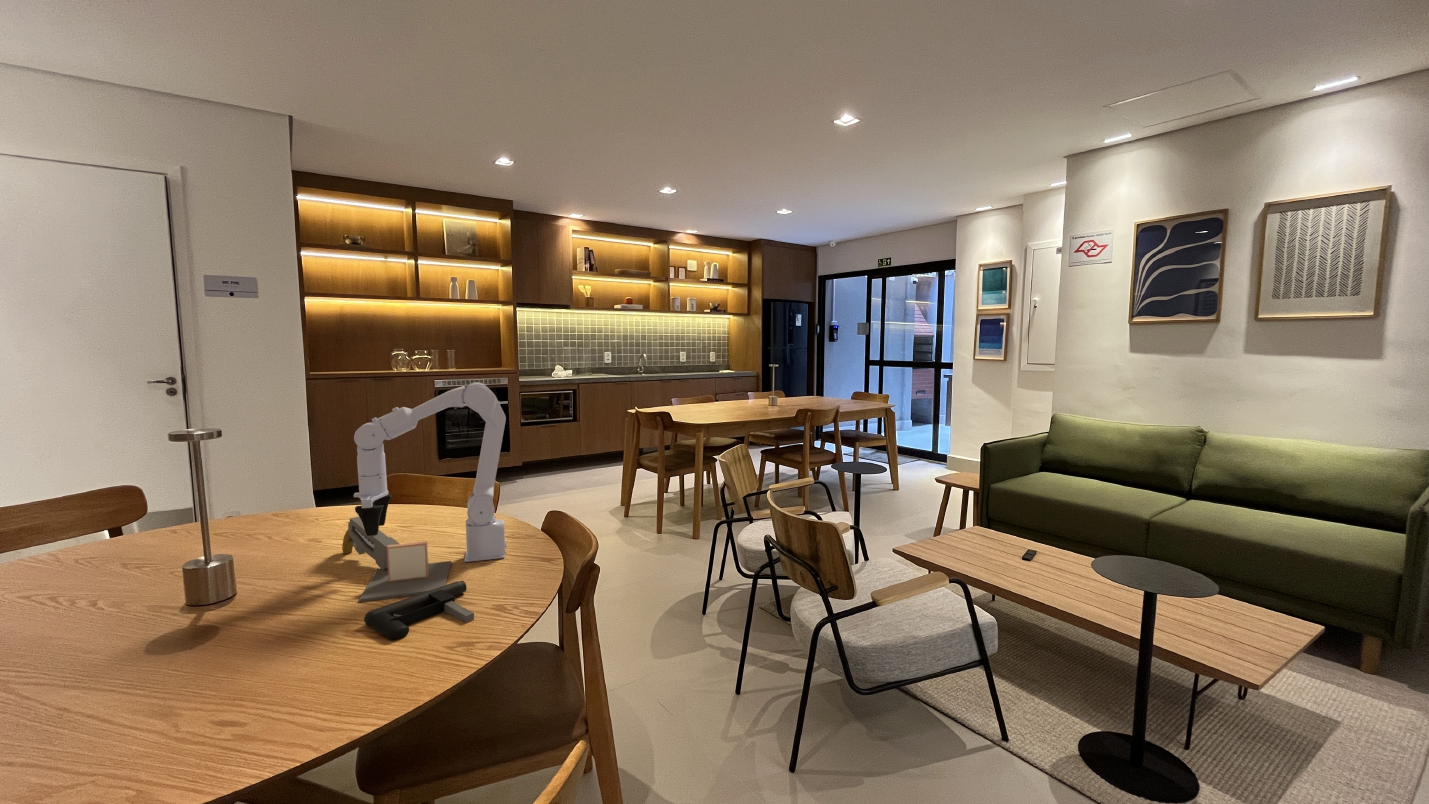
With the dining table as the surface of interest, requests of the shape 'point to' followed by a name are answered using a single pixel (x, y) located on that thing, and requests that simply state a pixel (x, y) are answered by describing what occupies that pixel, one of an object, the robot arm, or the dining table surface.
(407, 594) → the mat
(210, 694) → the dining table surface
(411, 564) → the tile
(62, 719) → the dining table surface
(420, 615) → the door handle
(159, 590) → the dining table surface
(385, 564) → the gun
